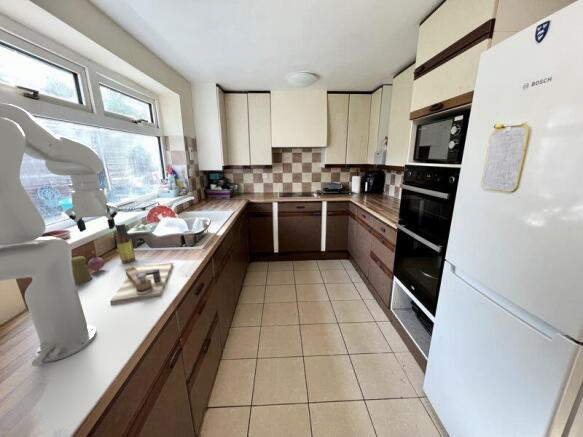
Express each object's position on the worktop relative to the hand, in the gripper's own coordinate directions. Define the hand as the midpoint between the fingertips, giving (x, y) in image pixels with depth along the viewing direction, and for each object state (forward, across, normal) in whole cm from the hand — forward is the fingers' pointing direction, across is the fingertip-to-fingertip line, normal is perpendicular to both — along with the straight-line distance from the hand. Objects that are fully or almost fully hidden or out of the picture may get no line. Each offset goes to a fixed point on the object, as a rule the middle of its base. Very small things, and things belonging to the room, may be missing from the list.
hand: (97, 229), depth 93 cm
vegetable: (+25, -10, +14) cm, 30 cm away
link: (+21, +12, -8) cm, 26 cm away
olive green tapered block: (+24, -12, +5) cm, 28 cm away
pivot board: (+24, +15, -5) cm, 28 cm away
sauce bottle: (+25, 0, +22) cm, 34 cm away
